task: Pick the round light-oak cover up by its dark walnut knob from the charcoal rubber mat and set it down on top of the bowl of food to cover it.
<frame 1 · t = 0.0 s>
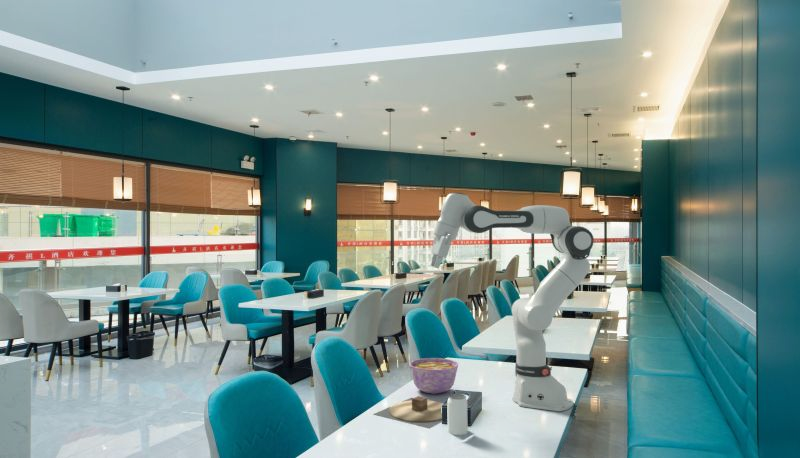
hand: (434, 267, 209), 52 cm above the table, tool tilted 20°, fingers open, 8 cm apart
bowl of food: (434, 392, 223), on the table
oak bowl cover: (419, 411, 197), point 1 cm above the table, touching rubber mat
can: (457, 433, 177), on the table
rubber mat: (419, 413, 197), on the table
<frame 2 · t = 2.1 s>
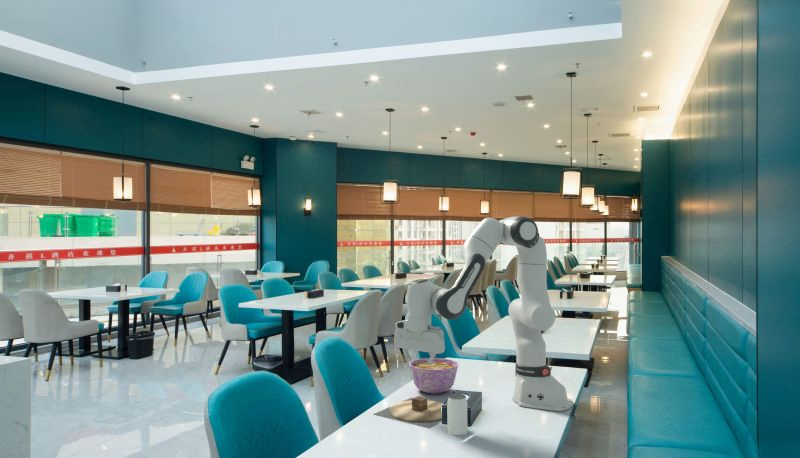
hand: (419, 362, 197), 18 cm above the table, tool pointing down, fingers open, 8 cm apart
nothing on the table moved.
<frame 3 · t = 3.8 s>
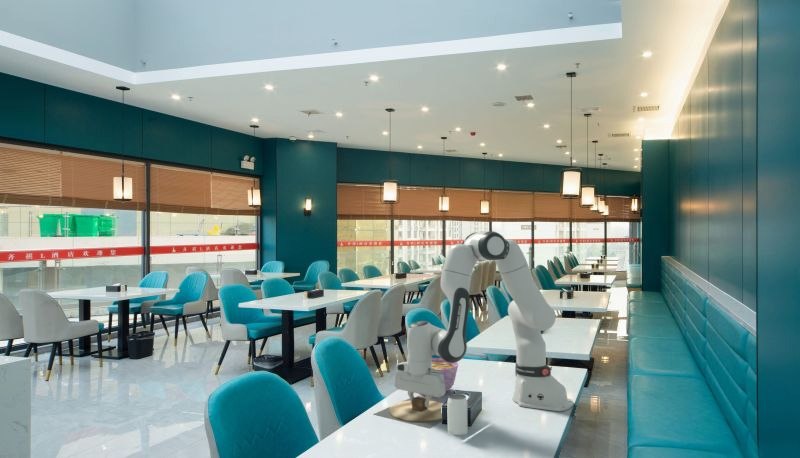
hand: (419, 405, 197), 3 cm above the table, tool pointing down, fingers closed on oak bowl cover, 4 cm apart
oak bowl cover: (419, 411, 197), point 1 cm above the table, touching gripper, rubber mat
everything else where it was.
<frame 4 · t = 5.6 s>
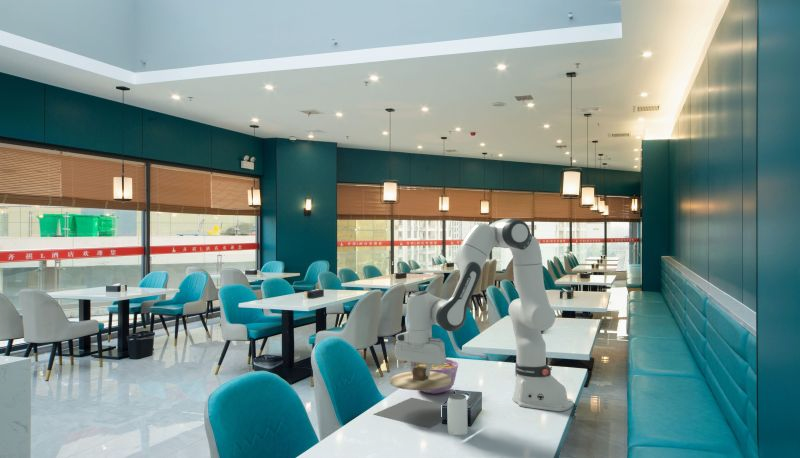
hand: (420, 374, 197), 14 cm above the table, tool pointing down, fingers closed on oak bowl cover, 4 cm apart
oak bowl cover: (420, 381, 197), point 12 cm above the table, touching gripper
everything else where it was.
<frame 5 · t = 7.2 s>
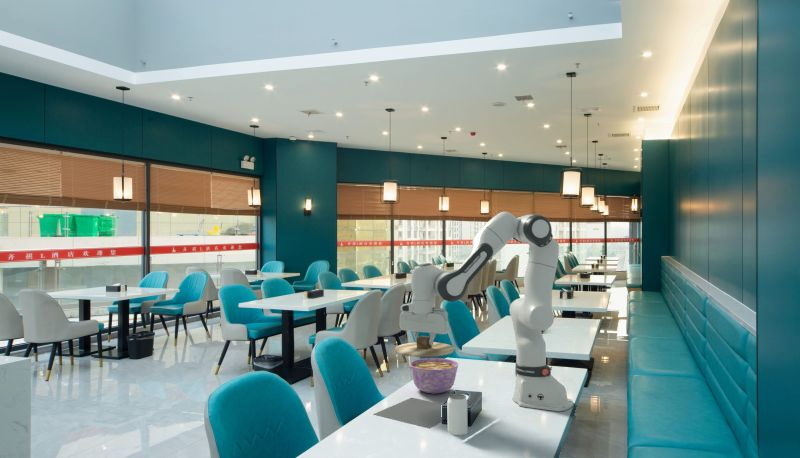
hand: (424, 344, 204), 24 cm above the table, tool pointing down, fingers closed on oak bowl cover, 4 cm apart
oak bowl cover: (424, 350, 204), point 21 cm above the table, touching gripper
everything else where it was.
when the fingers open (16 cm above the table, at t = 10.3 s): oak bowl cover drops 2 cm, resting on bowl of food.
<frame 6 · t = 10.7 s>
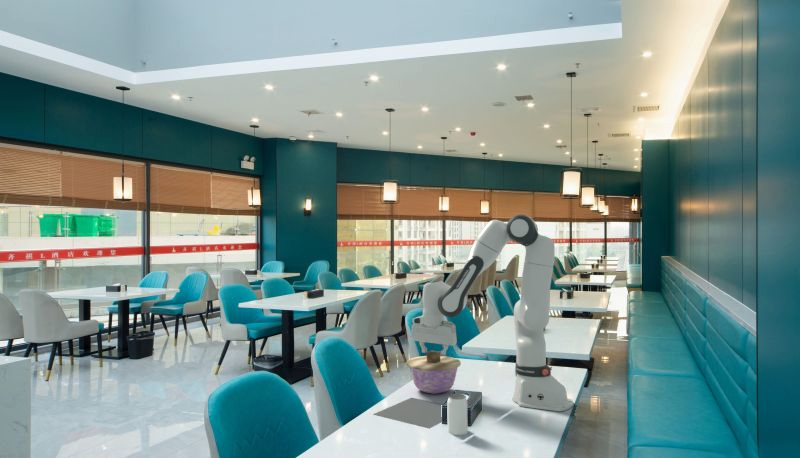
hand: (433, 353, 223), 16 cm above the table, tool pointing down, fingers open, 8 cm apart
bowl of food: (433, 392, 223), on the table, touching oak bowl cover
oak bowl cover: (433, 363, 223), point 12 cm above the table, touching bowl of food
everything else where it was.
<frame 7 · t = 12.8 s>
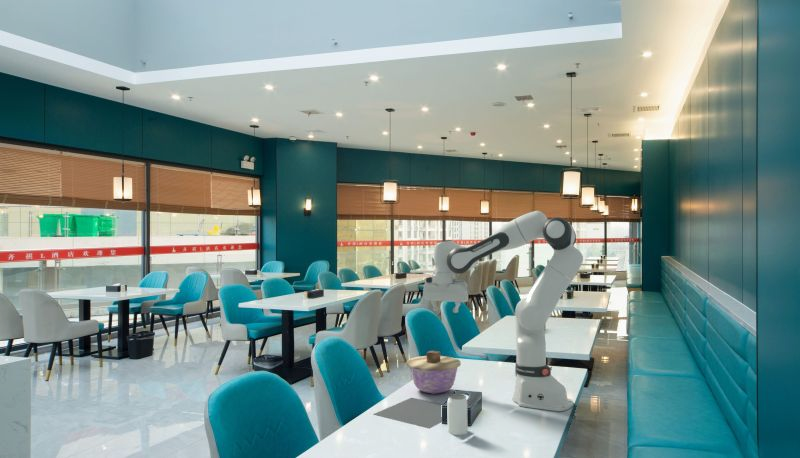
hand: (445, 311, 230), 32 cm above the table, tool pointing down, fingers open, 8 cm apart
nothing on the table moved.
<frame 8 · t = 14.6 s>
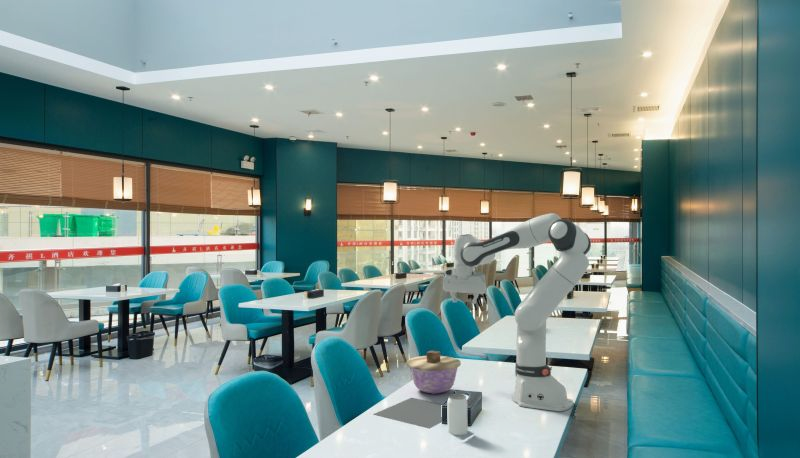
hand: (464, 302, 240), 34 cm above the table, tool pointing down, fingers open, 8 cm apart
nothing on the table moved.
at the end: oak bowl cover inside the target area (0.1 cm from its centre), point 11.5 cm above the table; oak bowl cover tilted 0°; the gripper is holding nothing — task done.
